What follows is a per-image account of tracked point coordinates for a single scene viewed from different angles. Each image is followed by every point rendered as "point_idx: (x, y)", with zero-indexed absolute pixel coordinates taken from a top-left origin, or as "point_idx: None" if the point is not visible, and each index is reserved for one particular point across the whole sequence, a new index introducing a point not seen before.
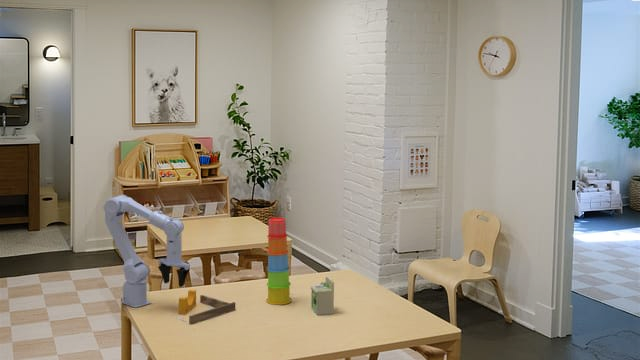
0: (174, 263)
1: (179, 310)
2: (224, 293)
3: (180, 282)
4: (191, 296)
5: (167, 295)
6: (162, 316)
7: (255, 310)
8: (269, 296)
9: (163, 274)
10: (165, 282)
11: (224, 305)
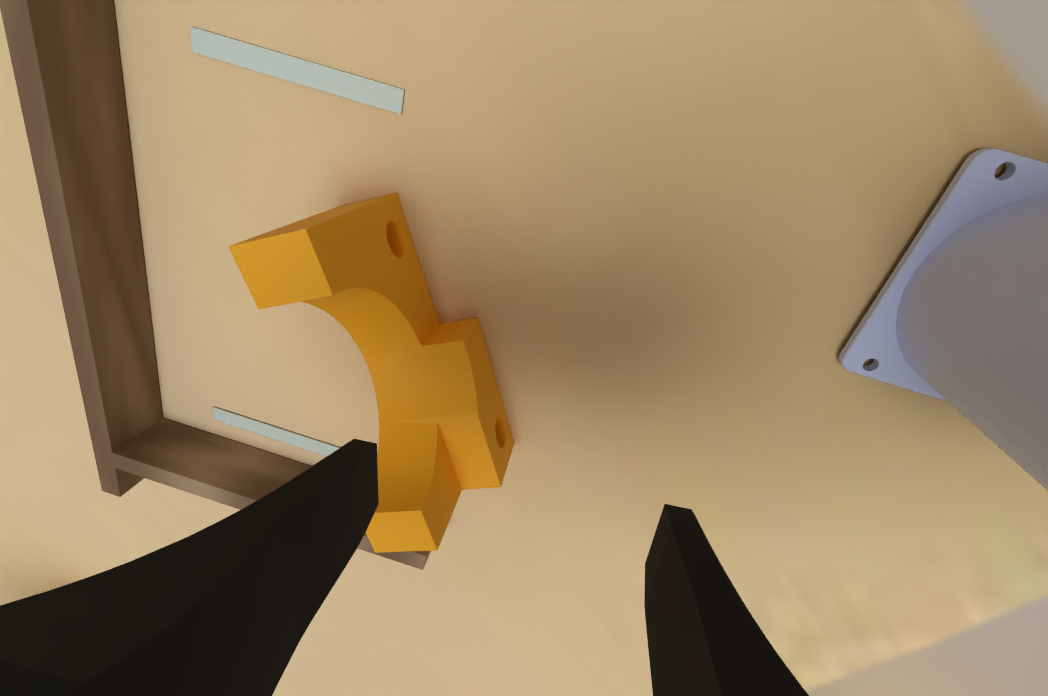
0: None
1: (373, 201)
2: (433, 678)
3: (296, 478)
4: (398, 467)
5: (786, 579)
6: (494, 37)
7: (68, 484)
8: None
9: (722, 648)
10: (667, 516)
11: (94, 409)
